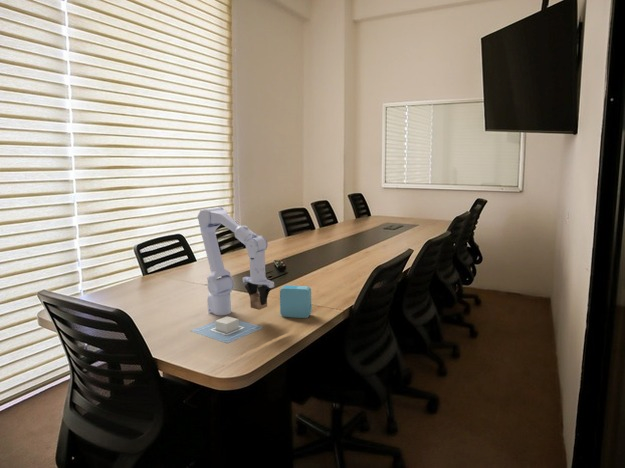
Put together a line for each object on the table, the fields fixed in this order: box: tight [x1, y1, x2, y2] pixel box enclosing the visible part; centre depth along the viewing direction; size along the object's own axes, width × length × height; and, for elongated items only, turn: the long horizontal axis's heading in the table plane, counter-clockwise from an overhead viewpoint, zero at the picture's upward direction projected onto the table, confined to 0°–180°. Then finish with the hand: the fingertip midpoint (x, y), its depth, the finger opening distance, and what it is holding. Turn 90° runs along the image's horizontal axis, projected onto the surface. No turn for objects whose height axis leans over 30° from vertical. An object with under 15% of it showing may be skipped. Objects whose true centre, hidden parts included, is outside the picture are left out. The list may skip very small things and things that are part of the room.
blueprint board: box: [190, 320, 264, 344], centre depth 165 cm, size 20×18×1 cm
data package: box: [279, 285, 312, 319], centre depth 180 cm, size 12×4×12 cm, turn 78°
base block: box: [214, 315, 240, 333], centre depth 164 cm, size 6×6×4 cm
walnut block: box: [249, 291, 268, 311], centre depth 171 cm, size 4×4×5 cm
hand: (258, 303), depth 171 cm, fingers closed on walnut block, 4 cm apart
